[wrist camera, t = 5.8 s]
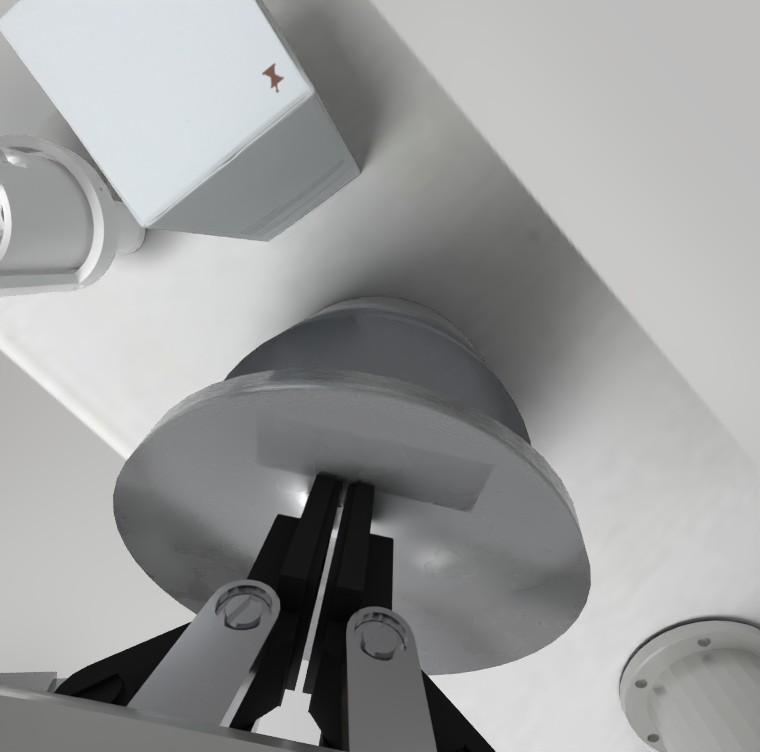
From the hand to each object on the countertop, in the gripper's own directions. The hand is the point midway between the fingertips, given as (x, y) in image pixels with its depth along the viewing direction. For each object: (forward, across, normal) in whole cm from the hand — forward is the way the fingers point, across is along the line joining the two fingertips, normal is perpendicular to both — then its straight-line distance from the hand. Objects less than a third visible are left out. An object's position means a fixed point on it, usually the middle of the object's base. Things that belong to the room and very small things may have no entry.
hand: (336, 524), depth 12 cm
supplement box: (+17, +8, -11) cm, 22 cm away
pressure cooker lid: (+3, -1, +3) cm, 5 cm away
